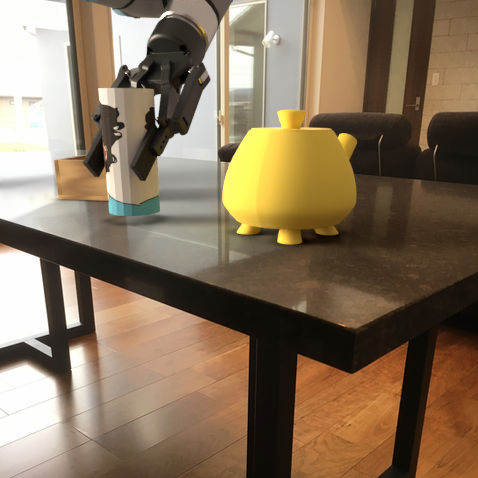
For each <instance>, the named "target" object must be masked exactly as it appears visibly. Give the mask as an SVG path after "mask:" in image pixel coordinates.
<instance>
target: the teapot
mask: <svg viewBox="0 0 478 478" xmlns="http://www.w3.org/2000/svg"><path fill="white" fill-rule="evenodd" d="M306 114H307V111H306V110H303V109H280V110H278V111H277V116H278V120H279V123H280V127H279V126H278V127H277V126H275V127H252V128H251V129H249V130H248V131H247V133H246V134H245V136H244V138H243V139H242V141H241V142H240V144H239V146H238V148H236V151H235V153H234V155H233V156H232V158H231V161H230V163H229V165H228V168H227V171H226V173H225V177H224V181H223V187H222V204H223V206H224V207H225V209H226V210H227V211H228V213H229V214H230V216H232V217H233V218H234V220H235V221H237V222H239V223H240V227H239V228H238V229H237V230H236V233H237V234H240V235H257V234H259V233H260V232H261V230H262V228H264V229H271V230H272V229H273V230H278V233H277V243H279V244H281V245H298V244H302V243H303V238H302V232H301V231H302V230H314V232H315V234H317V235H321V236H336V235H338V234H339V232H338V230H337V228H336V227H335V226H336V225H339V224H340V223H342V221H344V220H345V218H347V217H348V215H349V214H350V213H351V212H352V211H353V210H354V208H355V206H356V204H357V195H358V193H357V183H356V176H355V174H354V170H353V167H352V164H351V161H350V160H351V157H352V156H353V153H354V151H355V149H356V147H357V144H358V140H357V138H356V137H355V136H354V135H352V134H349V133H343V132H342V133H339V135H337V134H336V132H335V131H334V130H332V128H328V127H302V125H303V123H304V120H305V117H306Z"/></svg>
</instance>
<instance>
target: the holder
mask: <svg viewBox="0 0 478 478" xmlns="http://www.w3.org/2000/svg"><path fill="white" fill-rule="evenodd" d="M86 156H87V154H80V155H79V154H78V155H73V156H67V157H63V158H57V159H53V164H54V165H53V166H54V173H55V181H56V189H57V196H58V200H60V201H62V200H64V201H98V202H99V201H100V202H101V201H103V202H108V193H107V181H106V170H105V167H104V169H103V171H102V173H101V175H100V176H99V177H94V176H93V174H92V173H91V172H90V171H89V170H88V169H87V167H86V166H85V165H84V164H83V161H84V159H85V157H86Z"/></svg>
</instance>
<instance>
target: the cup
mask: <svg viewBox="0 0 478 478" xmlns="http://www.w3.org/2000/svg"><path fill="white" fill-rule="evenodd" d="M97 89H98V97H99V98H98V99H99V104H100V113H101V124H102V136H103V147H104V159H105V170H106V181H107V193H108V201H107V202H108V213H109V214H110V215H112V216H113V215H114V216H120V217H141V216H143V217H144V216H151V215H155V214H158V213H160V212H161V204H160V203H161V202H160V201H161V200H160V185H159V184H160V183H159V181H160V180H159V166H158V165H159V163H158V162H159V161H158V157H157V158H156V160H155V162H154V164H153V166H152V168H151V170H150V173H149V175H148V177H147V179H146V181H140V179H139V178H138V177H137V175H136V174H135V173H134V171H133V170H132V169H131V167H130V164H131V162H132V160H133V158H134V156H135V154H136V152H137V150H138V148H139V146H140V144H141V142H142V140H143V138H144V136H145V134H146V132H147V130H148V128H149V127H150V124H156V123H157V122H156V120H155V118H156V106H155V105H156V104H155V96H154V89H144V87H143V88H110V87H100V88H97ZM156 125H157V124H156Z"/></svg>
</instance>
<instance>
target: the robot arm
mask: <svg viewBox="0 0 478 478" xmlns="http://www.w3.org/2000/svg"><path fill="white" fill-rule="evenodd" d="M79 1H81V2H87V3H92V4H95V5H99V6H104V7H107V8H111V10H112V12H113V13H114V14H116V15H118V16H120V17H126V18H133V19H135V20H136V19H137V20H138V19H141V18H142V19H158V22H157V23H156V25H155V26H154V29H153V30H152V32H151V34H150V35H149V38H148V40H147V42H146V54H145V55H146V56H145V58H144V59H142V60H141V61H140V62H139V64H138V65H137V67H134V68H133V67H132V68H129V67H128V65H127V64H122V65H121V66H120V67H119V69H118V72H117V75H116V78H115V80H114V81H113V82H112V83H111V86H110V87H109V88H144V89H154V97H156V96H158V95H160V98H159V106H158V115H157V117H155V122H156V123H157V124H150V127H149V128H148V130H147V132H146V134H145V136H144V138H143V140H142V142H141V144H140V146H139V148H138V150H137V152H136V154H135V156H134V158H133V160H132V162H131V164H130V167H131V169H132V170H133V171H134V173H135V174H136V175H137V177H138V178H139V179H140V181H146V179H147V177H148V175H149V173H150V170H151V168H152V166H153V164H154V162H155V160H156V158H157V159H158V157H161V156H162V155H163V154H164V151H165V150H166V148H167V145H168V143H169V142H170V140H172V139H173V138H174V137H175V135H177V134H179V135H180V136H185V135H187V134H188V133H189V130H190V128H191V125H192V123H193V120H194V117H195V114H196V111H197V108H198V106H199V103H200V100H201V98H202V94H203V92H204V90H205V89H206V87H207V86H208V85H209V84H210V82H211V76H210V74H209V71H208V70H207V67H206V65H205V63H204V62H203V61H204V59H205V57H206V54H207V52H208V50H209V48H210V46H211V44H212V42H213V40H214V38H215V36H216V33H217V32H218V30H219V28H220V24H221V22H222V21H223V18H224V17H225V15H226V13H227V11H228V10H229V8H230V6H231V4H232V3H233V2H234V0H79ZM90 117H91V120H92V121H93V123H94V124H95V126H96V127H97V128H98V129H97V131H96V133H95V134H94V137H93V138H92V139H91V144H90V146H91V147H90V148H89V150H88V152H87V154H86V155H87V156H86V157H85V159H84V161H83V164H84V165H85V166H86V167H87V169H88V170H89V171H90V172H91V173H92V174H93V176H94V177H99V176H100V175H101V173H102V171H103V169H104V167H105V159H104V147H103V136H102V124H101V113H100V103H99V104H98V105H97V107H96V109H94V111H93V113H92V114H91V116H90ZM157 125H158V126H157Z"/></svg>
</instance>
